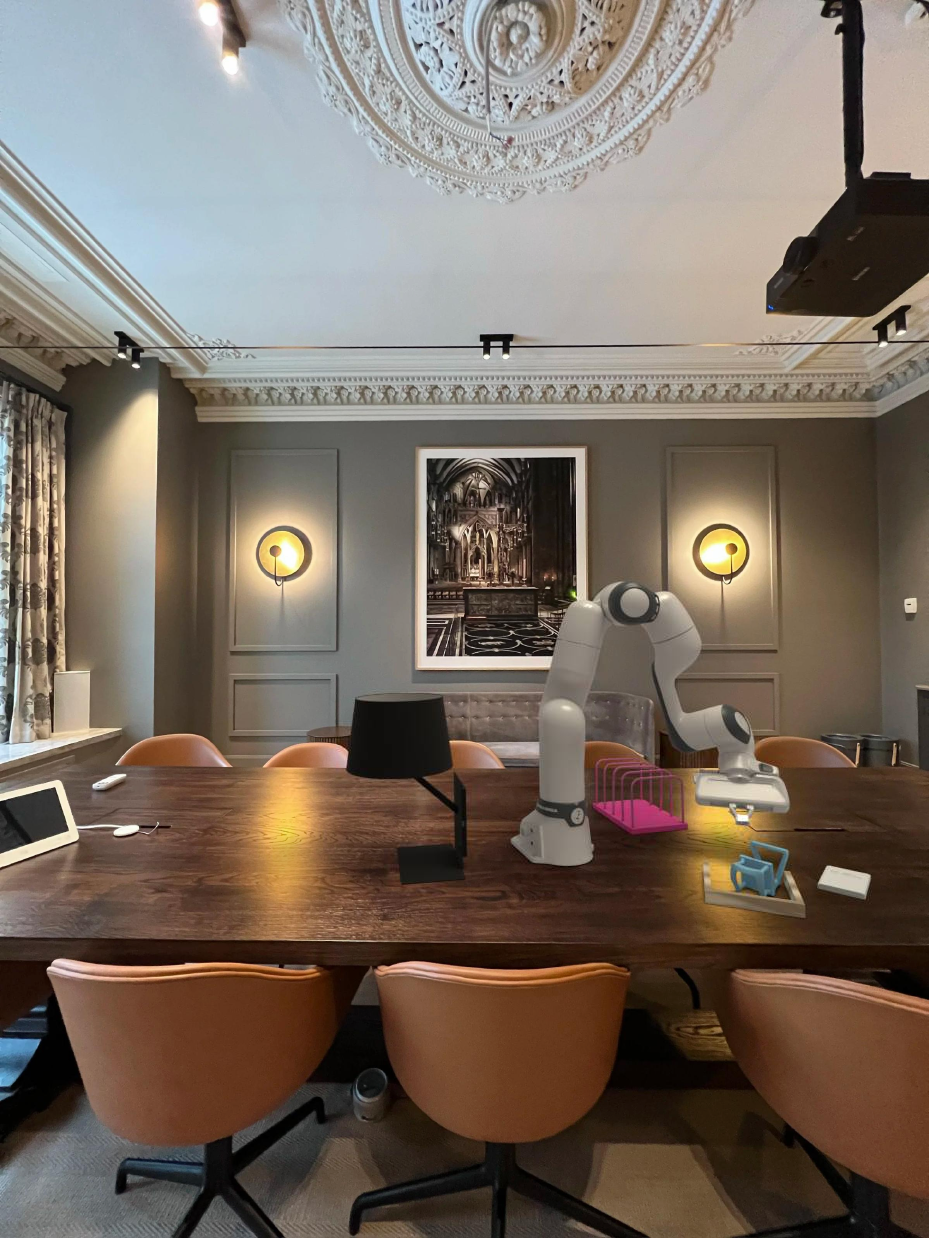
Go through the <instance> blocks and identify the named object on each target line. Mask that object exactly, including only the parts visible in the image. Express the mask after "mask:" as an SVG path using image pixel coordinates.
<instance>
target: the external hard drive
mask: <svg viewBox="0 0 929 1238" xmlns="http://www.w3.org/2000/svg"><path fill="white" fill-rule="evenodd" d="M871 877H872V876H871V874H869V873H865V872H859V871H855V870H851V869H846V868H841V867H837V866H832V865H826V867H825V868H824V871H823V873H822V874H821V876H820V878H819V881H818V883H817V889H819V890H824V891H827V892H832V893H836V894H840V895H844V896H847V897H853V898H855V899H856V898H857V899H861V900H866V899H867V894H868V891H869V887H870V883H871V880H872V878H871Z"/></svg>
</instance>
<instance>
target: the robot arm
mask: <svg viewBox="0 0 929 1238" xmlns="http://www.w3.org/2000/svg"><path fill="white" fill-rule="evenodd" d="M638 625H641V628H643V629H644V631H646V633H647V635H648V638H649V639H650V642H651V643H652V646H653V648H654V653H655V654H654V655H655V658H654V661H653V662H651V669H650V670H651V675H652V679H653V683H654V688H655V691H656V694H657V699H658V701H659V704H660V707H661V709H662V714H663V716H664V717H663V718H664V721H665V725H666V731H667V736H668V740H669V742H670V744H671V746H672V747H673V748H674V749H675V750H677V751H679V752H681V753H683V754H685V755H691V754H694V753H699V752H701V751H703V750H708V749H712V748H713V749H714V748H717V750H718V757H717V765H718V767H717V769H718V770H717V769H716V770H715V769H701V768H700V769H699V770H696V771H694V772H693V774H692V781H693V784H694V785H695V786H694V801H695V803H696V804H697V805H698V806H702V807H703V806H704V807H715V808H723V809H724V808H726V809H729V811H728V812H729V813H730V815H732V817H733V818H734V820H735V821H734V822H735V825H736V826H746V827H750V826H751V821H750V820H751V819H752V816H754V813H755V811H758V812H769V813H777V814H778V813H780V814H786V813H787V812H788V811H789V809H790V805H791V804H790V798H789V793H788V790H787V788H786V784H785V782H784V780H783V779H782V778H781V777H780V771H779V768H778V767H777V766H774V765H773V764H768V763H765V762H762V761H759V760H757V757H756V756H755V750H756V745H755V744H756V743H755V738H754V733H753V730H752V727H751V724H750V721H749V719H748V718H747V717H746V716H745V715H744V713H742V712H741V711H740V710H738V708H735V707H734V706H731V705H728V704H727V703H724V704H719V705H714V706H711V707H708V708H707V707H706V708H705V709H700V710H698V711H694V712H688V713H687V712H684V711H683V709H682V706H681V703H680V699H679V696H678V693H677V689H676V687H675V685H676V684H675V680H676V678H677V677H678V676H679V675H680V674H682V673H683V672H684V671H685V670H687V669H688V668H689V667H690V666H692V665H693V664H694V662H695V661H696V660H697V658H698V657H699V655H700V653H701V652H702V651H701V650H702V645H703V644H702V643H703V641H702V640H701V636H700V634H699V631H698V629H697V626H696V625H695V623H694V621H693V620H692V617H691V615H690V614H689V613H688V611H687V610H686V608H685V606H684V605H683V603H682V602H681V601H680V600H679V599H678V597H677V596H676V595H675V593H673V592H670V591H657V592H653V591H652V590H650V589H649V588H648V587H647V586H646V585H644V584H642V583H640V582H637V581H630V580H627V581H615V582H613V583H611V584H608V585H605V586H603V587H602V588H600V589H599V590H598V591H597V592H596V593H595V595H594V596H592V598H591V599H590V600H587V599H580V600H576V601H573V602H571V604H569V606H568V607H567V609H566V611H565V613H564V616H563V619H562V622H561V624H560V627H559V630H558V634H557V637H556V638H557V639H556V641H555V646H554V650H553V654H552V659H551V663H550V666H549V670H548V674H547V678H546V682H545V685H544V689H543V694H542V698H541V699H540V700H541V701H540V704H539V709H538V713H537V716H538V746H539V747H538V751H539V752H538V754H539V755H538V758H539V759H538V761H539V762H538V766H539V772H538V773H539V795H536V796H535V795H534V796H533V798H535V799H533V801H534V802H536V804H535V807H534V808H535V809H534V810H533V811H531V812H530V813H529V814H528V815H527V816H525V817H524V818H522V819H521V822H520V824H519V825H520V826H519V827H520V828H519V834H517V835H515V836H513V837H512V838H511V839H510V843H511V845H513V846H514V847H515V848H516V849H517V850H518V851H519V852H520V853H521V854H522V855H523V856H524V857H525V858H527V860H529V861H530V862H531V863H534V864H548V865H554V866H564V867H568V866H569V867H570V866H580V865H583V864H587V863H589V862H590V861H591V860H593V858H594V854H593V851H594V850H595V846H594V843H592V840H591V832H590V831H591V830H590V822H589V817H588V816H587V814H588V802H587V798H586V796H585V792H586V791H585V789H586V788H585V758H586V757H585V756H586V753H585V752H586V717H585V714H584V709H585V706H586V702H587V699H588V696H589V693H590V690H591V687H592V684H593V682H594V679H595V674H596V670H597V666H598V662H599V658H600V653H601V649H602V643H603V639H604V636H605V634H606V632H607V630H609V628H610V627H611V626H617V627H627V626H632V627H633V626H638ZM737 810H745V811H746V815H743V814H742V815H740V814H739V813H738V812H737Z"/></svg>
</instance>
